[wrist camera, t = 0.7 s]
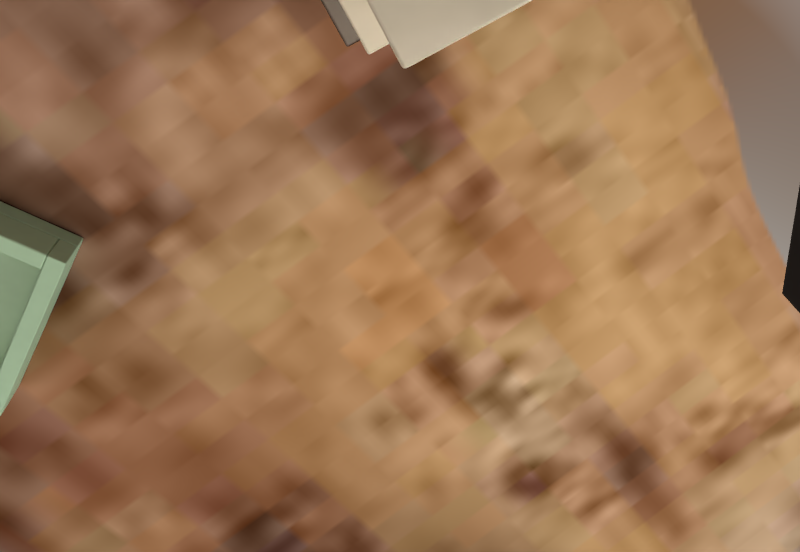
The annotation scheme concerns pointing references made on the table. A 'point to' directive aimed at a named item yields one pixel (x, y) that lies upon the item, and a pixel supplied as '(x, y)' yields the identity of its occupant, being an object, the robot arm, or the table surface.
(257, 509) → the table surface
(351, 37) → the riser
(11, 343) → the tray
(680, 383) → the table surface
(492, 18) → the eraser
